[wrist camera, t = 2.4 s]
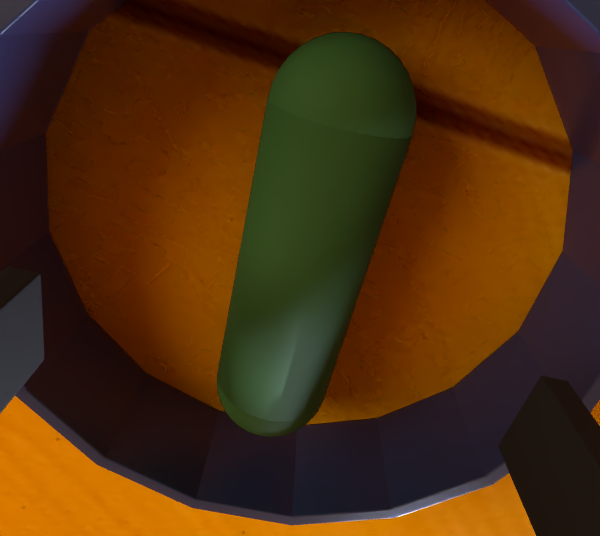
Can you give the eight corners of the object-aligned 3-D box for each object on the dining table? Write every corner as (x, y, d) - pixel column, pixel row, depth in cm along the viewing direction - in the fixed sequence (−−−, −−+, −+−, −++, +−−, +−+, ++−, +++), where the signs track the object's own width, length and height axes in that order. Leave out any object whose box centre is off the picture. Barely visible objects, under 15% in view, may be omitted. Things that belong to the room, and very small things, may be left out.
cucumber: (287, 15, 15) (276, 12, 11) (422, 49, 16) (458, 59, 11) (221, 372, 22) (199, 450, 18) (313, 391, 23) (312, 471, 19)
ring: (13, -183, 13) (-141, -286, 9) (714, 10, 15) (884, 5, 10) (43, 385, 23) (-22, 471, 19) (455, 464, 25) (485, 559, 20)
